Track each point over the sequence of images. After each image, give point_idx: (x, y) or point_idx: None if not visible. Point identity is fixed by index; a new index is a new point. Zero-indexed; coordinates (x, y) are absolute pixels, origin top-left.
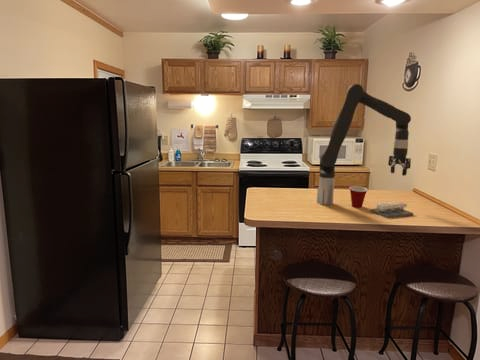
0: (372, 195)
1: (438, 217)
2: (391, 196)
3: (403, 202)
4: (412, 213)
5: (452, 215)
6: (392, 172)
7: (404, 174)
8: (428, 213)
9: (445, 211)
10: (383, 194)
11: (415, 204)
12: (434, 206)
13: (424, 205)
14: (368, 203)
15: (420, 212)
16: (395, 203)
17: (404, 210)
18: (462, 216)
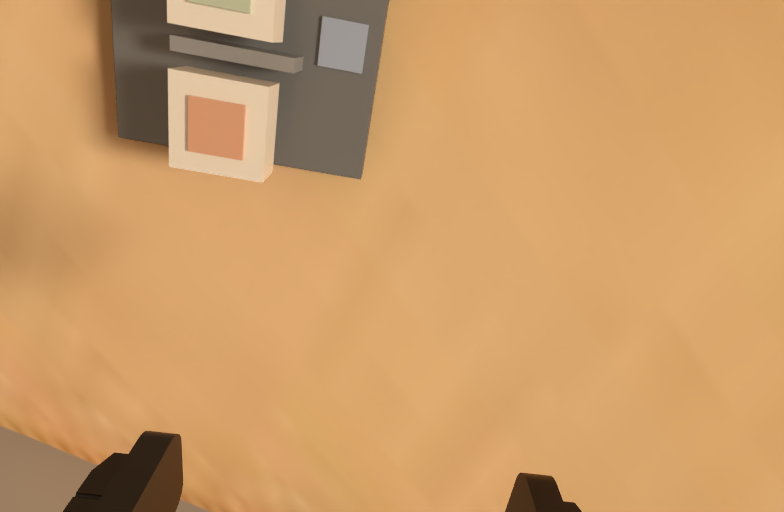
0: (758, 396)
1: (27, 272)
2: (624, 484)
3: (200, 152)
4: (120, 129)
5: (51, 399)
6: (519, 497)
7: (107, 460)
8: (142, 305)
9: None
10: (703, 486)
11: (372, 437)
12: (273, 491)
13: (322, 463)
14: (635, 118)
15: (186, 277)
16: (208, 24)
17: None
18: (15, 429)
